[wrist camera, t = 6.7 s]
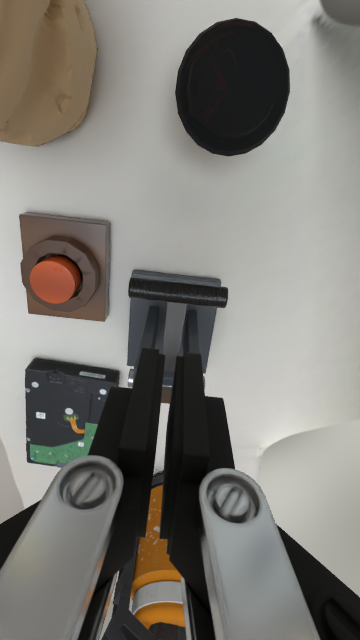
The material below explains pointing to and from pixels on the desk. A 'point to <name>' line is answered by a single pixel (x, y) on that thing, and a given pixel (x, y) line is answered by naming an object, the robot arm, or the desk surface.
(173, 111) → the desk surface
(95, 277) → the button block
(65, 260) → the button
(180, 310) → the lever
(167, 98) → the desk surface
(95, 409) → the disk drive
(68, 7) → the container
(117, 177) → the desk surface
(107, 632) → the canister
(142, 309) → the bracket
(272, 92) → the coffee cup
